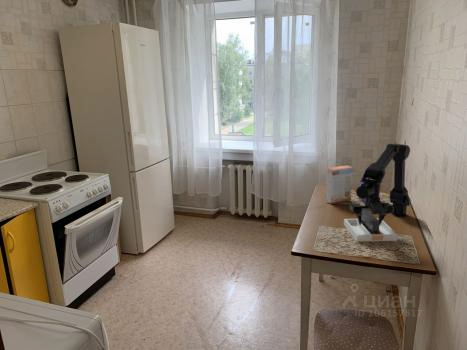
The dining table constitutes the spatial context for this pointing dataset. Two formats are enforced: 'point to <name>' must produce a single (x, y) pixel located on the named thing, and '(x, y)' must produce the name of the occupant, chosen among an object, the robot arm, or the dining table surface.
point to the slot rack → (363, 234)
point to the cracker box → (339, 184)
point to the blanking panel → (370, 222)
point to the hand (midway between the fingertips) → (369, 224)
